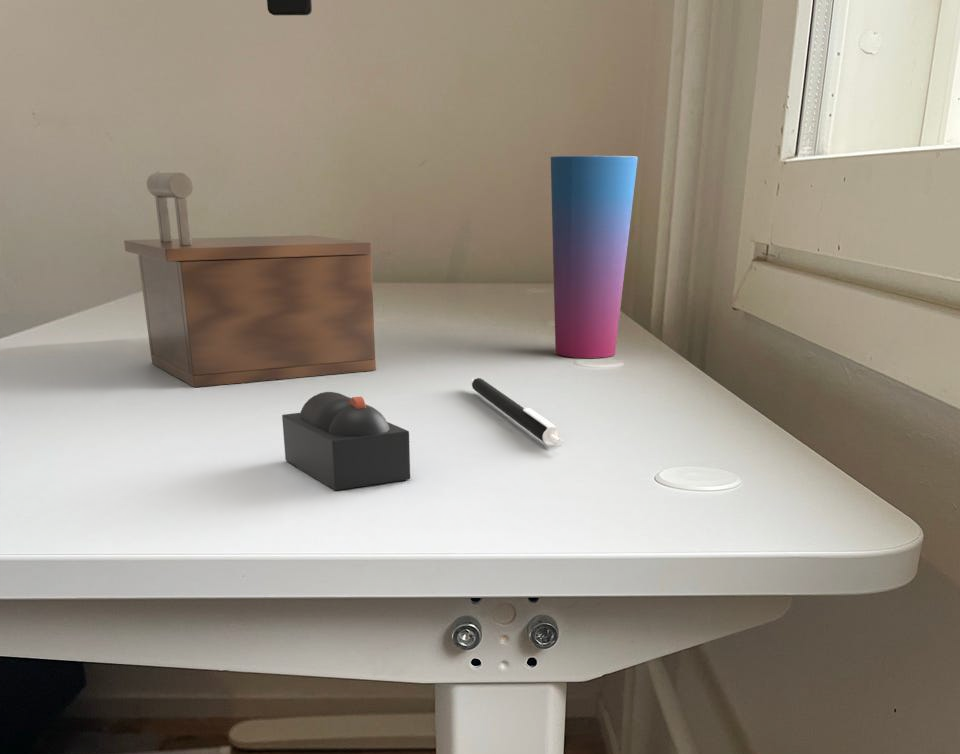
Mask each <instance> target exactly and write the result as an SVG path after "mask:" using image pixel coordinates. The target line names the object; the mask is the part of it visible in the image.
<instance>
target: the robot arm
mask: <svg viewBox="0 0 960 754" xmlns="http://www.w3.org/2000/svg"><path fill="white" fill-rule="evenodd" d="M266 5H267V6H266V7H267V11H268V13H269V14H270V15H272V16H309V15H311V13H312V10H313V8H312V7H313V6H312V0H266Z"/></svg>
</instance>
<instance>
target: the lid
mask: <svg viewBox="0 0 960 754" xmlns="http://www.w3.org/2000/svg"><path fill="white" fill-rule="evenodd" d="M193 185H194V184H193V182H192V179H191V178H190V177H189V175H188V174H186V173H183V172H153V173H151V174H150V175H149V176H148V177H147V180H146V188H147V190H148V192H149V193H150V194H151V195H152V196H154V198H155V207H156V208H155V209H156V215H157V223H158V225H157V226H158V233H159V238H157V239H124V240H123V242H124V251H125V252H126V253H131V254H135V255H138V254H139V255H143V256H147V257H151V258H155V259H159V260H163V261H167V262H170V261H198V260H225V259H253V258H281V257H308V256H336V255H364V254H367V255H371V254H372V243H371V242H369V241H359V240H352V239H343V238H334V237H326V236H319V235H318V236H317V235H311V234H309V235H308V234H307V235H273V236H272V235H271V236H269V235H268V236H235V237H234V236H233V237H231V236H230V237H197V238H192V235H191V226H190V225H191V224H190V216H189V206H188V197H190V196H191V195H192V192H193V189H194V186H193ZM168 199H173V200H174V207H175V208H174V209H175V216H176V217H175V218H176V226H177V235H178V238H173V237H172V229H171V220H170V211H169V203H168Z"/></svg>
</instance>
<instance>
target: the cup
mask: <svg viewBox="0 0 960 754" xmlns="http://www.w3.org/2000/svg"><path fill="white" fill-rule="evenodd" d="M638 159H639V157H638V156H631V155H552V156H550V183H551V184H550V185H551V186H550V187H551V188H550V189H551V192H550V193H551V222H552V223H551V227H552V231H551V232H552V233H551V234H552V264H553V265H552V268H553V303H554V304H553V305H554V306H553V309H554V347H555V351H554V352H555V354H556V355H558V356H561V357H567V358H576V359H577V358H578V359H600V358H608V357H613V356H614V355H615V354H616V350H617V349H616V348H617V340H618V331H619V322H620V315H621V305H622V297H623V289H624V280H625V273H626V272H625V271H626V264H627V263H626V262H627V255H628V246H629V245H628V244H629V237H630V230H631V229H630V228H631V219H632V211H633V204H634V203H633V201H634V193H635V185H636V177H637V169H638V168H637V167H638Z"/></svg>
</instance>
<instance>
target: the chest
mask: <svg viewBox="0 0 960 754" xmlns="http://www.w3.org/2000/svg"><path fill="white" fill-rule="evenodd" d="M137 256H138V265H139V274H140V280H141V281H140V283H141V288H142V289H141V290H142V296H143V297H142V298H143V304H144V311H145V320H146V327H147V337H148V344H149V352H150V359H151V364H152V365H154V366H156V367H158V368H159V369H161V370H162V371H165V372H167V373H168V374H170V375H172V376H173V377H175V378H177V379H178V380H180V381H183V382H185V383H186V384H188V385H189V386H192V387H193V388H203V387H214V386H223V385H233V384H234V385H235V384H244V383H245V384H246V383H255V382H265V381H276V380H277V381H278V380H286V379H296V378H307V377H308V378H309V377H318V376H330V375H339V374H350V373H359V372H362V373H363V372H371V371H376V370H377V363H376V361H377V360H376V342H375V341H376V340H375V338H376V337H375V316H374V315H375V314H374V290H373V266H372V265H373V264H372V263H373V262H372V261H373V259H372V255H371V254H364V255H336V256H308V257H281V258H253V259H225V260H198V261H170V262H167V261H163V260H159V259H155V258H151V257H147V256H143V255H139V254H137Z"/></svg>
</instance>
